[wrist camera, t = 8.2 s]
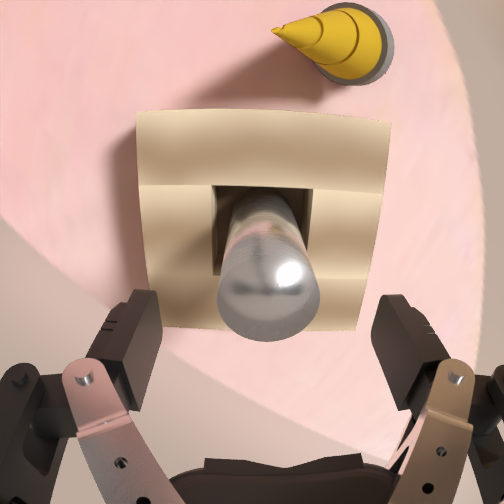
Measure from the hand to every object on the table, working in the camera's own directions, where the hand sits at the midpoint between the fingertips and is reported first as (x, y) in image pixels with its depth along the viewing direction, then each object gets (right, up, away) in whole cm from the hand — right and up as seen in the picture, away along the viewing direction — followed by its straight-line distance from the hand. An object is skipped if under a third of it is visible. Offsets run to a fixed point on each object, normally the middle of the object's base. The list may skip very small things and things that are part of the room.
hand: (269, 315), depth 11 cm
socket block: (0, +5, +11) cm, 12 cm away
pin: (0, +5, +10) cm, 11 cm away
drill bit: (+4, +15, +7) cm, 17 cm away
